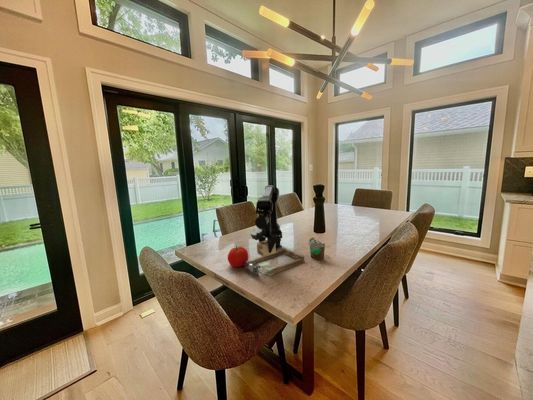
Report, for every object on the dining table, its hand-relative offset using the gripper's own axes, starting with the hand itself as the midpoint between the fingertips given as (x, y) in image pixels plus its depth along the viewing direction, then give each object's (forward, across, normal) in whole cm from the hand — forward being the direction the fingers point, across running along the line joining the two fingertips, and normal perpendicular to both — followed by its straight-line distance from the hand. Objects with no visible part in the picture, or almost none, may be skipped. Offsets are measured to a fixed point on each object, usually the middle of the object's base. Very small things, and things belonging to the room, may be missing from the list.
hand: (266, 250), depth 119 cm
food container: (+9, +9, +28) cm, 31 cm away
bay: (+9, 0, +6) cm, 11 cm away
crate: (+1, 0, 0) cm, 1 cm away
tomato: (+9, -12, -11) cm, 19 cm away
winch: (+9, +1, -9) cm, 13 cm away
